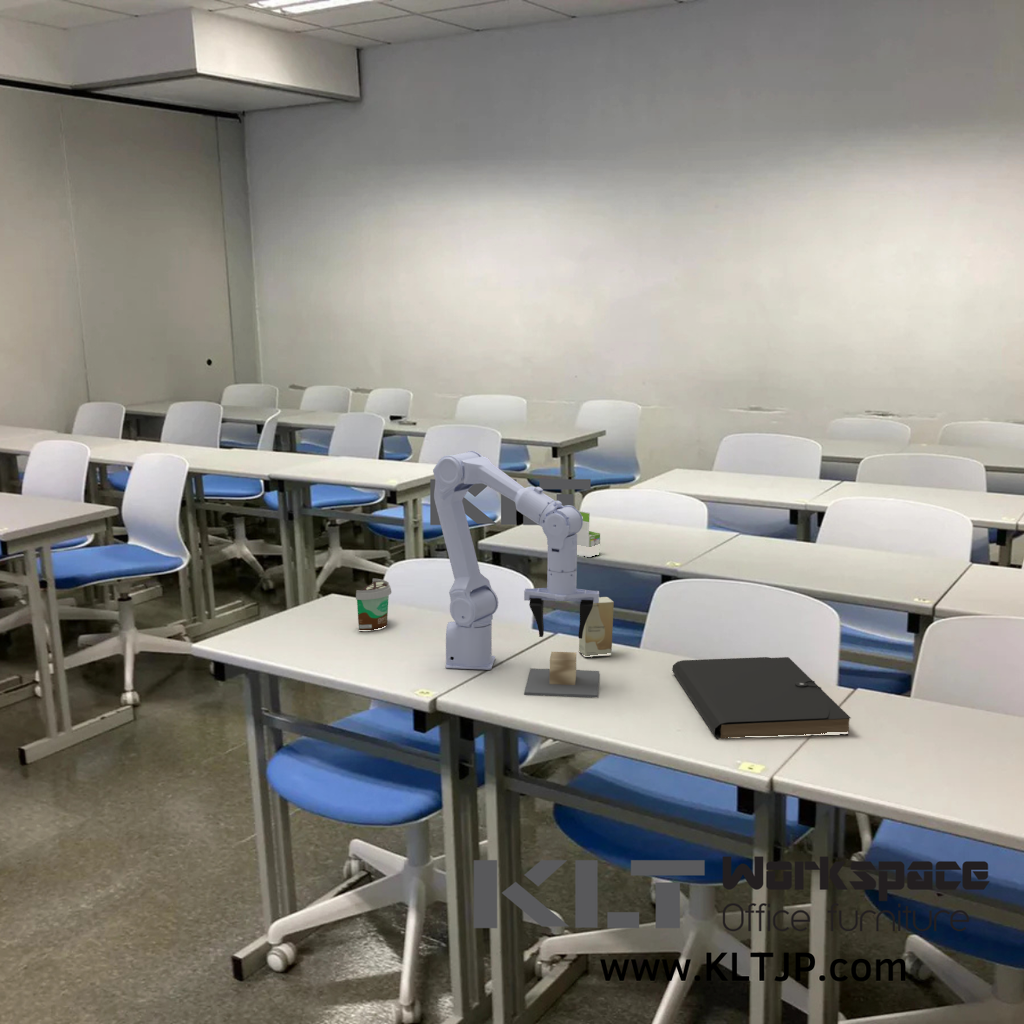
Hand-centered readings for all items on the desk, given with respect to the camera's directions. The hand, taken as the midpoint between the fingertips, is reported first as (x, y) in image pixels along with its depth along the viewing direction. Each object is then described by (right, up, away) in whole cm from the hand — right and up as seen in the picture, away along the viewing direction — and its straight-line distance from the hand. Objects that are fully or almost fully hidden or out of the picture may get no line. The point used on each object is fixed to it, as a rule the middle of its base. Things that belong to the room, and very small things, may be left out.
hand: (560, 636), depth 205 cm
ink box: (+12, +11, +114) cm, 115 cm away
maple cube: (0, -9, +1) cm, 9 cm away
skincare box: (+8, -6, +19) cm, 21 cm away
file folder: (+36, -12, -9) cm, 39 cm away
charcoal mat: (0, -9, +1) cm, 9 cm away
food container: (-41, -3, +38) cm, 56 cm away
